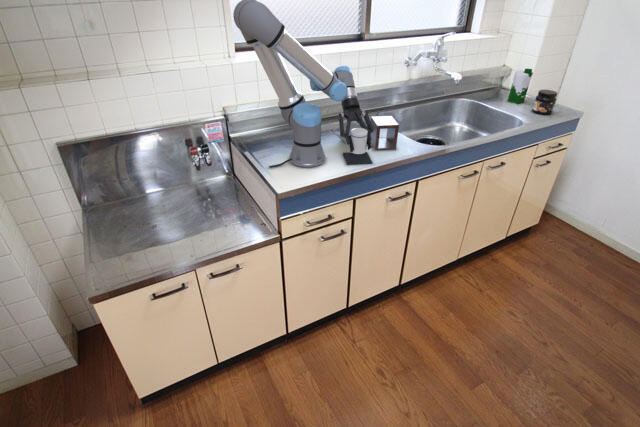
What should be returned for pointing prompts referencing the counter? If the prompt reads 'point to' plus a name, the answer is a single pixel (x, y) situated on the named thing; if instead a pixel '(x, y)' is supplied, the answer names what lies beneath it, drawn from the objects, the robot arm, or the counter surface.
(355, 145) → the cup
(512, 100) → the milk carton
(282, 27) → the robot arm
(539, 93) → the supplement container
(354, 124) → the teacup
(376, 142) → the shelf
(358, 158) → the mat
